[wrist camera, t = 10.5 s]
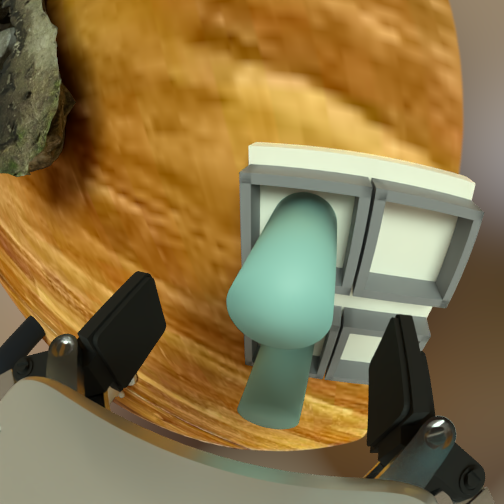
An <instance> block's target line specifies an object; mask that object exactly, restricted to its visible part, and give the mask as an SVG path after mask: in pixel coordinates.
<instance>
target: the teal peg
mask: <svg viewBox="0 0 504 504" xmlns="http://www.w3.org/2000/svg"><path fill="white" fill-rule="evenodd" d="M336 258H337V218H336V214H335V212H334V210H333V208H332V207H331V205H330V204H329V203H328V202H327V201H326V200H325V199H323V198H322V197H320V196H318V195H316V194H313V193H308V192H297V193H293V194H290V195H288V196H286V197H285V198H283V199H282V200H281V201H280V202H279V203H278V204H277V206H276V208H275V209H274V211H273V213H272V215H271V217H270V218H269V220H268V222H267V224H266V225H265V227H264V229H263V231H262V232H261V234H260V236H259V238H258V240H257V241H256V243H255V245H254V247H253V248H252V250H251V252H250V254H249V256H248V257H247V259H246V261H245V263H244V264H243V266H242V268H241V270H240V271H239V273H238V275H237V277H236V279H235V280H234V282H233V284H232V286H231V287H230V289H229V292H228V294H227V310H228V313H229V316H230V318H231V320H232V321H233V323H234V324H235V325H236V326H237V328H238V329H239V330H240V331H241V332H242V333H244V334H245V335H246V336H248V337H249V338H251V339H252V340H254V341H256V342H258V343H260V344H263V345H265V346H268V347H272V348H277V349H300V348H304V347H308V346H310V345H313V344H315V343H316V342H318V341H320V340H321V339H322V338H323V337H324V336H325V335H326V334H327V333H328V331H329V329H330V327H331V325H332V321H333V311H334V297H335V281H336Z"/></svg>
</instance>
